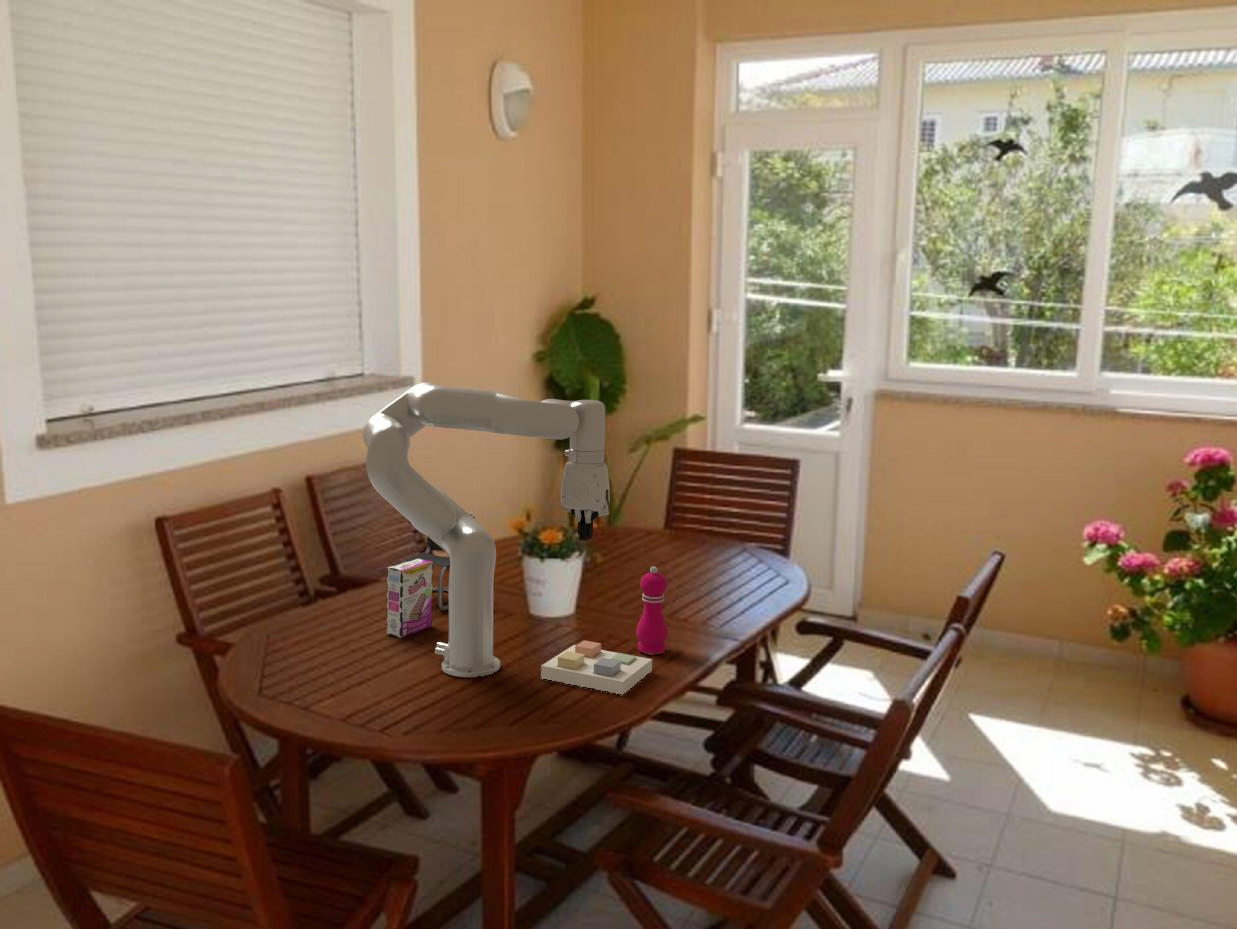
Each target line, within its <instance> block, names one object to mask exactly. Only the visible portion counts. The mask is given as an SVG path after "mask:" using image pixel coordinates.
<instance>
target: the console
mask: <svg viewBox="0 0 1237 929" xmlns="http://www.w3.org/2000/svg"><path fill="white" fill-rule="evenodd" d="M576 645H577V644H573V645H571V646H570V647H568V648H566V649H565V650H564V651H562V652H561V653H559V654H557V655H555V656H554V657H553V658H551V659H550V660H548V661H546V662H545V663H543V664H541V666H540V667H541V668H540V669H541V670H540V679H541V678H542V679H541V680H543V679H547V680H546V681H548V680H552V681H551V682H553V681H557V682H563V683H565V684H564V685H567V684H571V685H570V686H572V685H577V686H580V687H579V688H582V687H587V688H594V689H596V690H595V691H597V690H601V691H600V692H602V691H608V692H610V693H609V694H612V693H616V694H615V695H617V694H621V695H620V696H622V695H623V694H624V693H625V694H626V692H627V691H628V690H629V691H630V690H631V689H630V688H632V687H633V686H634V685H635V684H637V682H639V681H640V680H641V679H643V678H644V677H645V676H646V675H647V674H648V673H650V672H651V671H652V672H653V670H652V669H653V658H648V657H642V656H637V655H635V656H636V660H635V661H634V662H633V663H631V664H630V665H624V664H621V672H619V673H618V674H617V675H615V676H614V677H608V676H602V675H597V674H594V664H595V663H596V662H598V661H599V660H600V659H602V658H606V659H611V658H612V657H614V656H615V655H616V654H618V653H619V652H615V651H610V650H609V651H608V650H604V649H601V653H600V654H599V655H598V656H596V657H595V658H593V659H592V658H587V657H584V665H583V666H581V667H580V668H579V669H577V670H572V669H567V668H562V667H558V657H559V656H560V655H562V654H563V653H565V652H566V651H569V652H574V653H575V646H576ZM650 674H651V673H650ZM645 678H646V677H645ZM645 678H644V679H645ZM644 679H643V680H644ZM557 682H556V683H557ZM640 682H641V681H640ZM640 682H639V683H640ZM637 685H638V684H637ZM577 686H576V687H577ZM635 686H636V685H635ZM635 686H634V687H635ZM634 687H633V688H634ZM587 688H586V689H587ZM633 688H632V689H633ZM629 691H628V692H629ZM628 692H627V693H628ZM625 694H624V695H625ZM624 695H623V696H624Z"/></svg>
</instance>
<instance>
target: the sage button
mask: <svg viewBox="0 0 1237 929" xmlns="http://www.w3.org/2000/svg"><path fill="white" fill-rule="evenodd" d="M617 653H618V654H616V655H615V656H614V657H612V658H611V659H612V660H617V661H621V664H624V665H630V664H631V663H633V662H634V661H635V660H636V656H637V655H632V654H626V653H621V652H617Z"/></svg>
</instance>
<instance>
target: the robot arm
mask: <svg viewBox="0 0 1237 929" xmlns="http://www.w3.org/2000/svg"><path fill="white" fill-rule="evenodd" d="M427 426H428V427H433V428H442V429H455V430H467V431H476V432H487V433H493V434H500V435H510V436H511V435H513V436H514V435H515V436H520V437H528V438H537V439H549V440H550V439H551V440H565V439H568V438H569V448H568V449H565V450H564V456H565V457H568V460H569V461H567V462H565V465H564V468H563V469H564V470H563V475H562V481H561V491H560V503H561V506H562V509H563V511H565V512H567V513H571V515H572V516H573V517H574V518H575V522H577V536H578V540H579V541H585V542H586V541H587V542H588V541H589V540H592V537H593V535H594V522H595V521H596V520H597V519H598V518H599V517H605V516H607V515H610V511H609V506H610V502H611V490H610V489H611V488H610V475H609V470H608V466H607V463H605V435H606V434H605V433H606V432H605V431H606V406H605V404H604V403H603V401H600V400H595V399H580V400H579V399H578V400H564V399H556V398H547V399H543V400H541V401H534V400H529V399H528V400H527V399H522V398H517V397H514V396H509V395H507V394H505V393H501V392H496V391H491V390H483V389H481V390H480V389H471V388H470V389H469V388H461V387H454V386H453V387H450V386H442V385H438V384H436V383H433V382H429V381H428V382H427V381H425V382H420V383H418V384H416V385H414V386H413V387H411V388H410V389H408V390H407V391H406V392H404V393H403V394H402V395H400V396H399V397H397V398H396V399H395V400H393V401H392V402H391V403H389V404H388V405H386V406H385V407H384V408H382V409H381V410H379V411H378V412H377V413H375V414H374V415H372V417H370V419H368V420H367V422H366V424H365V425H364V427H363V431H362V438H363V442H364V445H365V446H366V447H367V451H366V457H365V466H366V473H367V477H368V480H369V481H370V483H371V485H372V487H373V488H374V490H375V491H376V492H377V493H378V494H379V495H380V496H381V497H382V498H383V499H384V500H385V501H386V502H387V503H389V504H390V505H391V506H392V507H393V508H394V509H395V510H396V511H397V512H399V513H400V514H401V515H402V516H403V517H404V518H405V519H406V520H407V521H408V522H410V523H411V525H412V526H413V527H414V528H415V529H416V530H417V531H418V532H419V533H421V534H423V535H425V536H426V537H427V536H428V537H429V538H430V539H432V540H433V541H434V542H435V543H436V544H438V545H439V546H440V547H441V548H442V549H443V550H442V549H441V550H442V551H444V552H446V554H447V555H448V558H450V569H449V573H448V574H449V576H448V587H447V588H448V592H447V593H448V604H449V609H448V643H447V642H442V641H438V642H436V646H435V649H434V654H435V655H442V656H443V658H444V659H443V660H442V661H441V665H440V666H441V670H442V672H443V673H445V674H448V675H449V676H452V677H457V678H479V677H478V676H481V677H485V675H486V676H489V675H492V674H495V673H496V672H498V671H499V670H500V668H501V661H500V659H499V658H498V657H496V656H494V579H495V578H494V576H495V569H496V561H497V549H496V543H495V541H494V538H493V536H492V535H491V533H489V531H488V530H487V529H486V528H485V527H484V526H483V525H481V523H479V521H478V520H476V519H475V518H473V517H472V516H470V515H469V514H470V513H469V512H467V511H466V510H465V509H463V507H461V506H460V505H459V504H458V503H457V502H456V501H455V500H454V499H452V497H451V496H449V495H448V494H447V493H446V492H444V491H443V490H442V489H441V488H440V487H438V486H436V485H432V484H431V483H429V482H428V481H427V480H426V479H425V478H424V477H423V476H422V475H421V474H420V473H419V472H418V471H417V470H415V469H414V467H412V466H411V464H410V462H409V459H408V458H409V457H408V454H409V450H410V444H411V438H412V437H414V435H416V434H418V433H419V432H420V431H421V430H422V429H424V428H426V427H427ZM494 672H495V673H494Z"/></svg>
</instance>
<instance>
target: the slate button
mask: <svg viewBox="0 0 1237 929" xmlns="http://www.w3.org/2000/svg"><path fill="white" fill-rule="evenodd" d="M619 672H621V661H617V660H612V659H606V658H602V659H600V660H599V661H598V662H596V663H595V664H594V674H597V675H602V676H608V677H614V676H615V675H617V674H618V673H619Z"/></svg>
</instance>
